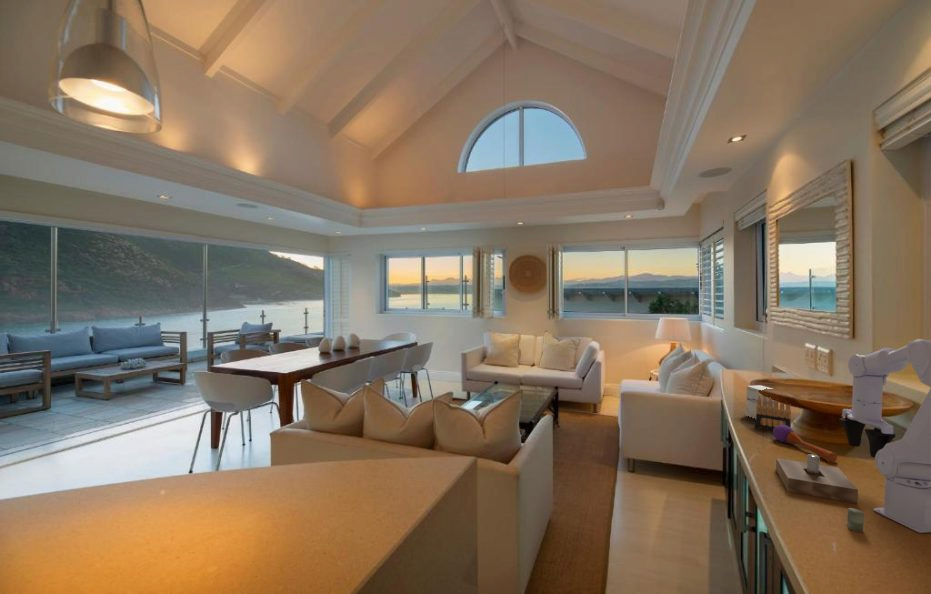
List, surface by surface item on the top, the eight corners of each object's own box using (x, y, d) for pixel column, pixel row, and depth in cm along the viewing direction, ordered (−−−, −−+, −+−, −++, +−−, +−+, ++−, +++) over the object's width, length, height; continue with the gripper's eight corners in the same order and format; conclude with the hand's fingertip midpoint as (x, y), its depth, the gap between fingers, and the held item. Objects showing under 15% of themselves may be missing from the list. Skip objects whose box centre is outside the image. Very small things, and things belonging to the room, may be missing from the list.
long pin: (821, 487, 113) (822, 457, 113) (813, 488, 112) (814, 458, 112) (811, 482, 116) (812, 453, 115) (803, 483, 115) (804, 454, 115)
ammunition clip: (755, 427, 161) (756, 395, 160) (755, 425, 162) (756, 394, 162) (790, 433, 154) (791, 400, 154) (790, 431, 156) (791, 399, 155)
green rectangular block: (866, 531, 93) (867, 513, 93) (856, 532, 92) (856, 514, 92) (853, 525, 95) (854, 507, 95) (843, 525, 95) (844, 508, 95)
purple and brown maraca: (823, 450, 128) (768, 423, 148) (824, 469, 129) (769, 439, 149) (840, 446, 129) (783, 420, 148) (841, 464, 130) (784, 436, 149)
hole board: (837, 480, 117) (838, 467, 117) (857, 503, 105) (857, 489, 104) (775, 469, 123) (776, 458, 123) (787, 490, 111) (787, 477, 111)
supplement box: (744, 416, 174) (745, 385, 173) (760, 415, 175) (761, 384, 175) (760, 421, 167) (761, 390, 166) (776, 420, 168) (777, 389, 168)
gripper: (831, 392, 120) (829, 440, 120) (871, 407, 105) (869, 461, 106) (859, 394, 118) (857, 442, 119) (903, 409, 104) (901, 463, 105)
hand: (865, 451), depth 112 cm, fingers open, 7 cm apart
